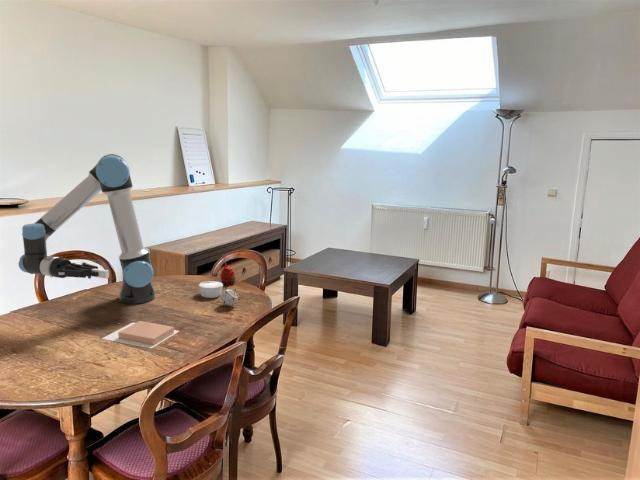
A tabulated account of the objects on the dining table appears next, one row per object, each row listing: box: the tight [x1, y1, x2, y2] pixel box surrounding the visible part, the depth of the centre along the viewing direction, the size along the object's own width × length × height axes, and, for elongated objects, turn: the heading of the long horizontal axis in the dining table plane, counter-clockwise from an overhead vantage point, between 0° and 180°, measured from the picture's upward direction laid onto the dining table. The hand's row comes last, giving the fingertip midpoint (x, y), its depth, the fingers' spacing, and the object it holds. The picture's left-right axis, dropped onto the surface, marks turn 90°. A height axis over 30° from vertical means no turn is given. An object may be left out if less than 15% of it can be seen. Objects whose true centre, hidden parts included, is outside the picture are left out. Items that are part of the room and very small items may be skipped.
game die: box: [217, 287, 241, 309], centre depth 216 cm, size 9×8×10 cm
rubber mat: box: [101, 322, 180, 349], centre depth 181 cm, size 21×17×1 cm
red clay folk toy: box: [220, 254, 236, 286], centre depth 247 cm, size 8×7×15 cm
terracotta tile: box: [118, 320, 175, 345], centre depth 180 cm, size 12×2×15 cm
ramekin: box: [198, 280, 224, 299], centre depth 230 cm, size 11×11×5 cm
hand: (107, 274), depth 181 cm, fingers closed
